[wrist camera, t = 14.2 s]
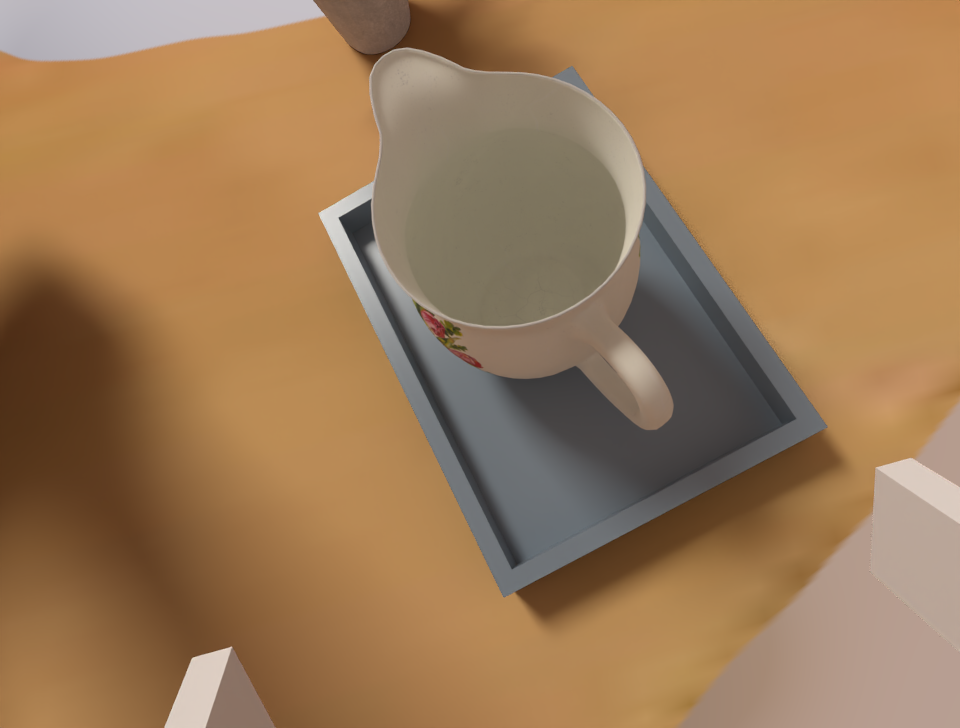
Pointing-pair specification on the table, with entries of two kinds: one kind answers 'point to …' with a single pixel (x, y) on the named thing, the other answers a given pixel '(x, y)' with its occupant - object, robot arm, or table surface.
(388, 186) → the pitcher
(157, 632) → the table surface
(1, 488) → the table surface
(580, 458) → the tray
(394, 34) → the house plant
